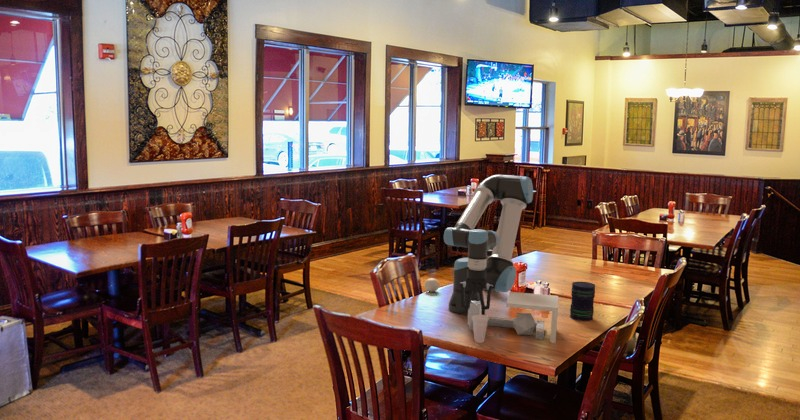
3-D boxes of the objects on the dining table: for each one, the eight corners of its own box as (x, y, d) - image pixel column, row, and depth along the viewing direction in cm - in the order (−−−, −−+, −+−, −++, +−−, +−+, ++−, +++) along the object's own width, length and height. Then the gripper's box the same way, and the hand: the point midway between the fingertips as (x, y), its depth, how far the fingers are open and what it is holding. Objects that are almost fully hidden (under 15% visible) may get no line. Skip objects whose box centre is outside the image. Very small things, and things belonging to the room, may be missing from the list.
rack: (504, 337, 267) (506, 303, 265) (508, 324, 284) (509, 291, 282) (555, 343, 263) (557, 307, 261) (556, 329, 280) (558, 295, 278)
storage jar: (566, 314, 302) (568, 281, 299) (588, 314, 302) (590, 281, 300) (573, 321, 292) (576, 287, 290) (596, 321, 292) (598, 287, 290)
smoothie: (486, 338, 266) (487, 303, 264) (488, 344, 259) (490, 308, 257) (469, 338, 265) (471, 303, 263) (472, 343, 259) (473, 308, 257)
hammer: (467, 332, 273) (468, 305, 271) (471, 321, 286) (472, 296, 285) (543, 339, 267) (545, 311, 265) (543, 328, 280) (545, 302, 279)
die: (529, 340, 267) (542, 318, 269) (510, 327, 268) (523, 306, 270) (525, 341, 275) (537, 320, 277) (506, 329, 276) (519, 308, 278)
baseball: (441, 291, 333) (442, 278, 332) (431, 294, 328) (432, 280, 327) (431, 289, 338) (432, 275, 337) (421, 291, 333) (421, 278, 332)
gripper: (454, 268, 272) (452, 325, 276) (497, 271, 269) (494, 329, 272) (457, 264, 280) (454, 320, 283) (499, 267, 276) (496, 324, 279)
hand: (474, 324), depth 277 cm, fingers closed on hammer, 4 cm apart
